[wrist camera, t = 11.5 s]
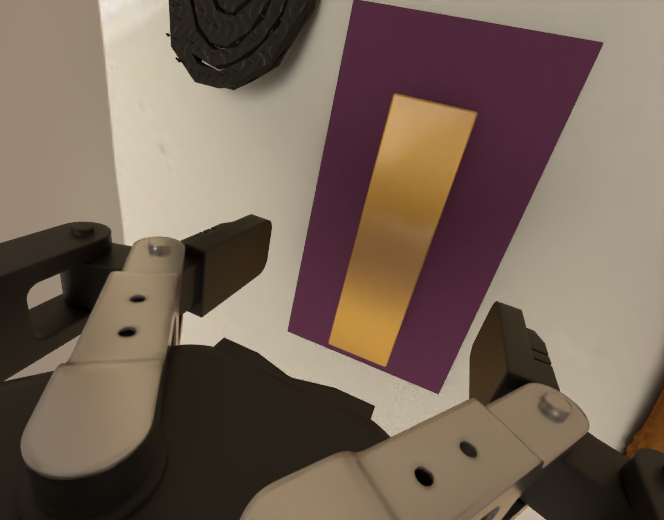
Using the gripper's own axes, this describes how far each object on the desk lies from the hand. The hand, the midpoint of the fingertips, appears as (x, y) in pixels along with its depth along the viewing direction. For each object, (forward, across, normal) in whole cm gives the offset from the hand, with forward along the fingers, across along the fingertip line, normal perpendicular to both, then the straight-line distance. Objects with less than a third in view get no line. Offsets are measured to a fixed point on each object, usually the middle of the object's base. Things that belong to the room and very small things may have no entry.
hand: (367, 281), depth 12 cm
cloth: (+9, 0, 0) cm, 9 cm away
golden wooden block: (+8, 0, +1) cm, 9 cm away
